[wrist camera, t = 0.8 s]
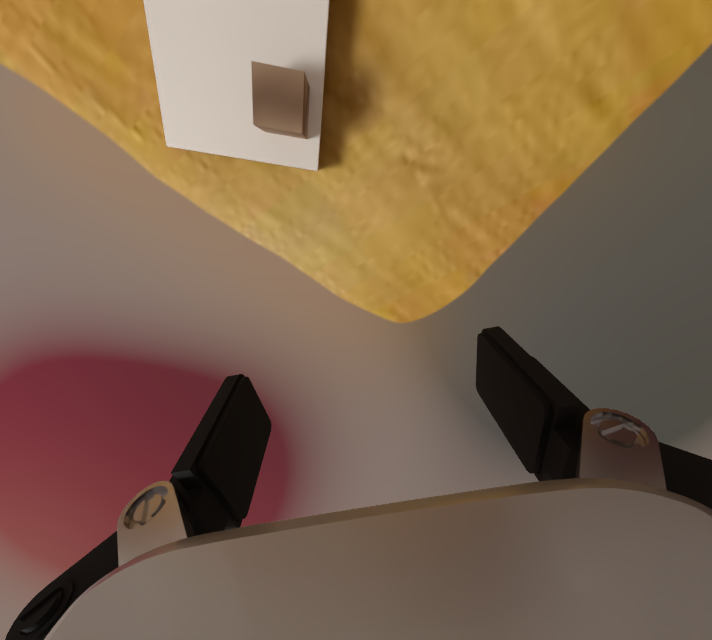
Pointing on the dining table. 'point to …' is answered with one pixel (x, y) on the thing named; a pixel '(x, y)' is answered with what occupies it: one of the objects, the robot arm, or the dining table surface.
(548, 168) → the dining table surface
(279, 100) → the crate
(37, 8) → the dining table surface
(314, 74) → the dock
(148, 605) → the robot arm
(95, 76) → the dining table surface
